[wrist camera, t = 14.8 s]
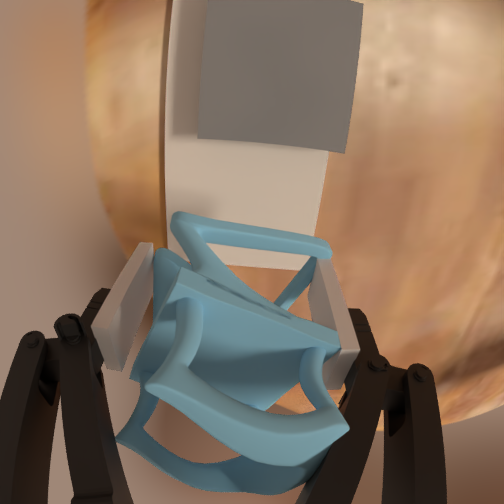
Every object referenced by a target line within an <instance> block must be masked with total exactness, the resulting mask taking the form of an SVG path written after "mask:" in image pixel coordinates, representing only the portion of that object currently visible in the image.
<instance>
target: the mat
mask: <svg viewBox="0 0 504 504" xmlns="http://www.w3.org/2000/svg"><path fill="white" fill-rule="evenodd" d="M207 2H208V0H173V6H172V15H171V25H170V36H169V48H168V63H167V80H166V105H165V195H166V221H167V240H168V249H169V250H171V251H172V252H174V253H176V254H177V255H179V256H180V257H181V258H183V259H184V260H185V261H189V259H188V257H187V256H186V254H185V252H184V251H183V249H182V247H181V246H180V244H179V243H178V241H177V240H176V238H175V237H174V235H173V234H172V232H171V230H170V222H171V218H172V215H173V213H175V212H177V211H182V212H186V213H190V214H194V215H198V216H202V217H207V218H212V219H216V220H222V221H228V222H234V223H240V224H246V225H252V226H258V227H265V228H271V229H277V230H283V231H289V232H294V233H299V234H305V235H309V236H313V237H314V232H315V227H316V222H317V217H318V212H319V206H320V201H321V195H322V190H323V184H324V178H325V173H326V167H327V161H328V155H329V151H325V150H318V149H310V148H303V147H295V146H286V145H277V144H267V143H256V142H244V141H230V140H214V139H197V137H198V115H199V97H200V81H201V67H202V54H203V42H204V31H205V21H206V11H207ZM206 244H207V245H208V246H209V247H210V248H211V250H212V251H213V252H214V253H215V254H216V255H217V256H218V258H219V259H220V260H221V261H222V262H223V263H224V264H226V265H238V266H250V267H262V268H275V269H287V270H301V268H302V267H303V266H304V265H305V263H306V262H307V261H308V259H309V257H310V256H308V255H300V254H292V253H284V252H275V251H267V250H258V249H250V248H242V247H234V246H226V245H219V244H212V243H206Z"/></svg>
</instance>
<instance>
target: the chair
mask: <svg viewBox="0 0 504 504" xmlns="http://www.w3.org/2000/svg"><path fill="white" fill-rule="evenodd" d="M170 230H171V232H172V234H173V235H174V237H175V238H176V240H177V241H178V243H179V244H180V246H181V247H182V249H183V251H184V252H185V254H186V256H187V257H188V259H189V261H190V263H191V265H190V264H189V263H188V262H186V261H185V260H184V259H183V258H181V257H180V256H179V255H177V254H176V253H174V252H172V251H171V250H169V249H166V248H159V249H157V250H156V252H155V257H154V262H153V325H152V327H151V329H150V331H149V333H148V335H147V337H146V339H145V341H144V343H143V345H142V347H141V349H140V351H139V353H138V356H137V358H136V360H135V362H134V364H133V368H132V371H131V375H130V378H129V379H132V380H134V381H137V382H139V383H140V387H141V389H140V396H139V400H138V403H137V405H136V408H135V410H134V412H133V414H132V415H131V417H130V419H129V421H128V422H127V424H126V425H125V427H124V428H123V429H122V430H121V431H120V432H119V434H118V435H117V436H116V437H115V440H116V442H118V443H120V444H122V445H124V446H126V447H128V448H129V449H132V450H133V451H134V452H136V453H138V454H139V455H141V456H142V457H143V458H144V459H146V460H147V461H149V462H150V463H151V464H153V465H154V466H155V467H157V468H158V469H159V470H161V471H162V472H164V473H166V474H167V475H169V476H171V477H172V478H174V479H176V480H179V481H181V482H183V483H185V484H187V485H189V486H191V487H194V488H198V489H201V490H205V491H214V492H247V493H256V494H261V495H277V494H282V493H285V492H287V491H289V490H292V489H293V488H296V487H298V486H300V485H302V484H304V483H305V482H307V481H308V480H309V479H310V478H311V476H312V475H313V474H314V472H315V471H316V470H317V468H318V467H319V465H320V464H321V462H322V460H323V459H324V457H325V456H326V454H327V452H328V450H329V449H330V447H331V445H332V443H333V442H334V441H336V440H337V439H338V438H340V437H341V436H343V435H344V434H345V433H346V432H348V431H349V429H350V428H349V425H348V424H347V422H346V421H345V419H344V417H343V416H342V414H341V413H340V411H339V409H338V407H337V406H336V404H335V403H334V401H333V400H332V398H331V397H330V395H329V393H328V391H327V389H326V387H325V385H324V381H323V377H322V367H323V364H324V363H325V362H326V361H327V360H329V359H330V358H331V357H332V356H333V355H334V354H335V353H337V352H338V351H339V350H340V349H341V344H340V340H339V336H338V332H337V331H335V330H333V329H330V328H328V327H325V326H323V325H320V324H317V323H315V322H312V321H309V320H306V319H303V318H299V317H297V316H295V315H293V314H291V313H290V312H288V311H287V309H288V308H289V307H290V306H291V305H292V304H293V302H294V301H295V300H296V299H297V298H298V297H299V295H300V294H301V293H302V292H303V291H304V290H305V288H306V287H307V286H308V285H309V284H310V282H311V281H312V278H313V274H314V271H315V267H316V262H317V258H318V259H330V258H331V256H332V250H331V248H330V246H329V244H328V242H327V241H325V240H323V239H320V238H317V237H313V236H309V235H305V234H299V233H294V232H289V231H283V230H277V229H271V228H265V227H258V226H252V225H246V224H240V223H234V222H228V221H222V220H216V219H212V218H207V217H202V216H198V215H194V214H190V213H186V212H182V211H177V212H175V213H173V215H172V218H171V222H170ZM206 243H212V244H219V245H226V246H234V247H242V248H250V249H258V250H267V251H275V252H284V253H292V254H300V255H308V256H311V257H310V258H309V259H308V261H307V262H306V263H305V265H304V266H303V267H302V268H301V270H300V271H299V272H298V273H297V275H296V276H295V277H294V278H293V280H292V281H291V282H290V283H289V285H288V286H287V287H286V288H285V290H284V291H283V292H282V293H281V294H280V296H279V297H278V298H277V299H276V301H275V302H274V303H272V302H270V301H269V300H267V299H266V298H264V297H262V296H261V295H259V294H258V293H257V292H255V291H254V290H252V289H251V288H250V287H248V286H247V285H246V284H245V283H244V282H242V281H241V280H240V279H239V278H238V277H236V275H235V274H234V273H233V272H232V271H231V270H230V269H229V268H228V267H227V266H226V265H225V264H224V263H223V262H222V261H221V260H220V259H219V258H218V256H217V255H216V254H215V253H214V252H213V251H212V250H211V248H210V247H209V246H208V245H207V244H206ZM299 382H300V384H301V387H302V389H303V391H304V393H305V395H306V396H307V398H308V399H309V401H310V402H311V403H312V404H313V406H314V407H315V408H316V409H317V410H315V411H312V412H308V413H304V414H298V415H281V414H273V413H269V412H266V411H265V410H266V409H268V408H269V407H270V406H271V405H272V404H274V403H275V402H276V401H277V400H278V399H279V398H280V397H281V396H283V395H284V394H285V393H286V392H287V391H289V390H290V389H291V388H292V387H294V386H295V385H296V384H297V383H299ZM159 398H160V399H162V400H164V401H165V402H167V403H169V404H170V405H172V406H173V407H175V408H176V409H178V410H179V411H181V412H182V413H184V414H185V415H186V416H187V417H189V418H190V419H191V420H192V421H194V422H195V423H196V424H197V425H199V426H200V427H201V428H202V429H204V430H205V431H206V432H208V433H209V434H210V435H212V436H213V437H214V438H216V439H217V440H218V441H220V442H221V443H223V444H224V445H226V446H227V447H229V448H230V449H232V450H233V451H235V452H237V453H239V454H241V456H239V457H236V458H233V459H230V460H226V461H222V462H218V463H207V464H203V463H194V462H191V461H188V460H185V459H183V458H180V457H178V456H177V455H175V454H173V453H172V452H170V451H168V450H167V449H166V448H164V447H163V446H162V445H160V444H159V443H158V442H157V441H155V440H154V439H153V438H152V437H151V436H150V435H149V434H148V433H147V432H146V431H145V430H144V429H143V426H144V425H145V424H146V422H147V421H148V420H149V418H150V416H151V415H152V413H153V411H154V409H155V408H156V405H157V403H158V400H159Z"/></svg>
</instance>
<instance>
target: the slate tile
mask: <svg viewBox="0 0 504 504" xmlns="http://www.w3.org/2000/svg"><path fill="white" fill-rule="evenodd" d="M362 16H363V4H362V3H358V2H354V1H350V0H208V2H207V11H206V21H205V31H204V42H203V54H202V67H201V81H200V97H199V115H198V137H197V139H214V140H230V141H244V142H256V143H267V144H277V145H286V146H295V147H303V148H310V149H318V150H325V151H331V152H338V153H344V154H345V148H346V143H347V137H348V130H349V124H350V118H351V111H352V104H353V97H354V90H355V83H356V75H357V66H358V58H359V49H360V39H361V28H362Z"/></svg>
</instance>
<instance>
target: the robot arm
mask: <svg viewBox="0 0 504 504" xmlns="http://www.w3.org/2000/svg"><path fill="white" fill-rule="evenodd" d="M153 262H154V251H153V243H145V242H140V243H139V244H138V246H137V247H136V249H135V251H134V252H133V254H132V255H131V257H130V259H129V260H128V262H127V264H126V265H125V267H124V269H123V270H122V272H121V273H120V275H119V277H118V279H117V280H116V282H115V284H114V286H113V287H112V289H106V288H101V289H100V290H99V291H98V292H96V293H95V294H94V296H93V297H92V299H91V301H90V303H89V304H88V306H87V308H86V309H85V311H84V312H83V314H82V316H81V317H80V316H78V315H76V314H65V315H62V316H61V317H59V318H58V319H57V320H56V322H55V324H54V329H55V331H56V333H57V335H58V338H50V339H45V337H44V335H43V334H42V333H41V332H39V331H31V332H29V333H27V334H25V335H24V336H23V337H22V339H21V341H20V343H19V346H18V349H17V351H16V354H15V357H14V359H13V362H12V365H11V368H10V371H9V374H8V377H7V380H6V383H5V386H4V389H3V392H2V396H1V399H0V504H48V484H49V471H50V460H51V452H52V443H53V436H54V429H55V423H56V417H57V411H58V405H59V400H60V395H61V406H62V420H63V429H64V437H65V445H66V453H67V459H68V465H69V470H70V476H71V481H72V486H73V491H74V497H73V498H72V500H71V504H134V503H133V500H132V498H131V494H130V491H129V488H128V485H127V481H126V478H125V475H124V471H123V468H122V464H121V461H120V457H119V453H118V449H117V445H116V440H115V436H114V433H113V428H112V423H111V419H110V413H109V408H108V402H107V397H106V391H105V385H104V379H103V373H102V370H101V366H102V364H103V362H104V363H105V365H106V368H107V369H111V370H116V371H121V372H122V370H123V368H124V365H125V362H126V359H127V356H128V354H129V351H130V349H131V346H132V343H133V341H134V338H135V336H136V333H137V331H138V328H139V325H140V323H141V320H142V318H143V316H144V313H145V311H146V308H147V306H148V303H149V301H150V299H151V296H152V294H153ZM308 301H309V306H310V311H311V316H312V322H315V323H317V324H320V325H323V326H325V327H328V328H330V329H333V330H335V331H337V332H338V336H339V340H340V344H341V349H340V350H339V351H338V352H337V353H335V354H334V355H333V356H332V357H331V358H330V359H329V360H327V361H326V362H325V363H324V364H323V367H322V377H323V381H324V385H325V387H326V389H327V390H336V389H341V387H342V385H343V383H345V388H346V391H345V393H344V394H343V396H342V398H341V400H340V402H339V403H338V404H340V405H339V408H338V409H339V411H340V413H341V414H342V416H343V417H344V419H345V421H346V422H347V424H348V425H349V428H350V429H349V431H348V432H346V433H345V434H344V435H343V436H341V437H340V438H338V439H337V440H336V441H334V442H333V443H332V445H331V447H330V449H329V450H328V452H327V454H326V456H325V457H324V459H323V460H322V462H321V464H320V465H319V467H318V468H317V470H316V471H315V472H314V474H313V475H312V476H311V478H310V479H309V480H308V481H307V482H306V484H305V486H304V488H303V490H302V492H301V493H300V495H299V498H298V499H297V501H296V503H295V504H351V502H352V500H353V497H354V494H355V492H356V489H357V487H358V484H359V481H360V478H361V476H362V473H363V470H364V467H365V464H366V461H367V458H368V455H369V452H370V449H371V445H372V442H373V439H374V435H375V431H376V428H377V425H378V421H379V417H380V413H381V409H382V410H384V469H383V470H384V471H383V490H382V504H447V489H446V468H445V455H444V444H443V436H442V427H441V419H440V412H439V406H438V399H437V393H436V388H435V382H434V377H433V374H432V372H431V370H430V369H429V368H428V367H426V366H425V365H423V364H419V363H417V364H412V365H410V367H409V368H408V369H407V370H406V369H402V368H397V367H394V366H391V365H390V364H389V362H388V360H387V359H386V358H385V357H383V356H382V355H380V354H379V351H378V348H377V345H376V343H375V340H374V337H373V334H372V332H371V328H370V326H369V323H368V320H367V318H366V316H365V314H364V313H363V312H362V311H361V310H360V309H352V308H347V305H346V302H345V299H344V296H343V293H342V290H341V287H340V284H339V281H338V278H337V275H336V272H335V269H334V267H333V264H332V261H331V258H330V259H318V258H317V262H316V267H315V271H314V274H313V278H312V281H311V284H310V288H309V292H308Z"/></svg>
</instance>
